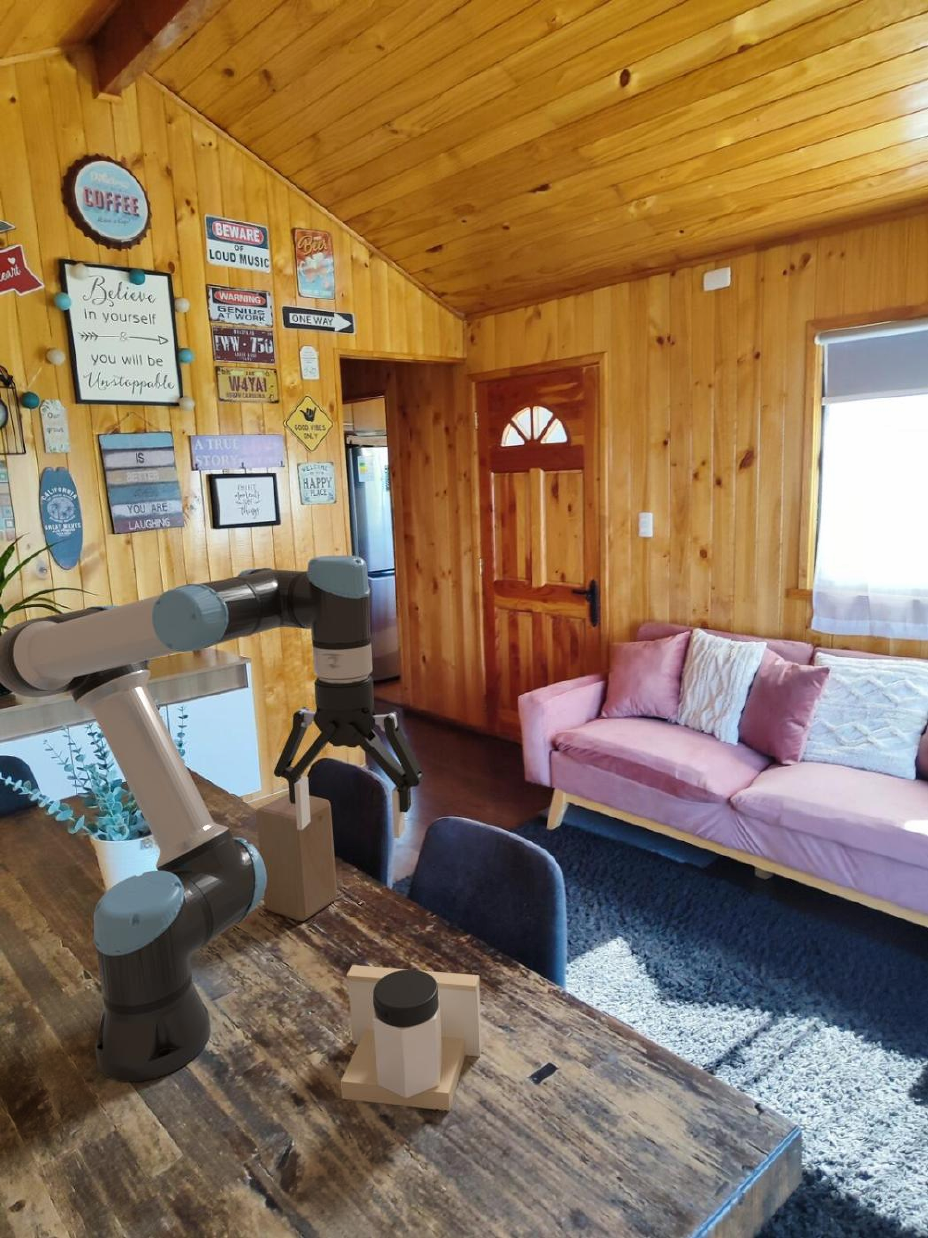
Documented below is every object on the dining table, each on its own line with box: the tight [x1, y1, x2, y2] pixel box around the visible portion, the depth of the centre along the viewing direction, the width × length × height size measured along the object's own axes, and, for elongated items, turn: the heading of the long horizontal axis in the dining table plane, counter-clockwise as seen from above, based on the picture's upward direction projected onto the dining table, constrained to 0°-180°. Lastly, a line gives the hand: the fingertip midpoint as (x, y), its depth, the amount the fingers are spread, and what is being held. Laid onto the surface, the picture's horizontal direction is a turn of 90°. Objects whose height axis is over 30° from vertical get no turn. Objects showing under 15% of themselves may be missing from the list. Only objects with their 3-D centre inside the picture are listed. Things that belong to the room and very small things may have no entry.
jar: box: [373, 969, 443, 1098], centre depth 104 cm, size 9×8×12 cm
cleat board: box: [340, 964, 483, 1112], centre depth 108 cm, size 18×12×11 cm, turn 79°
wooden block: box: [255, 793, 338, 922], centre depth 151 cm, size 10×10×20 cm
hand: (351, 829), depth 110 cm, fingers open, 13 cm apart
